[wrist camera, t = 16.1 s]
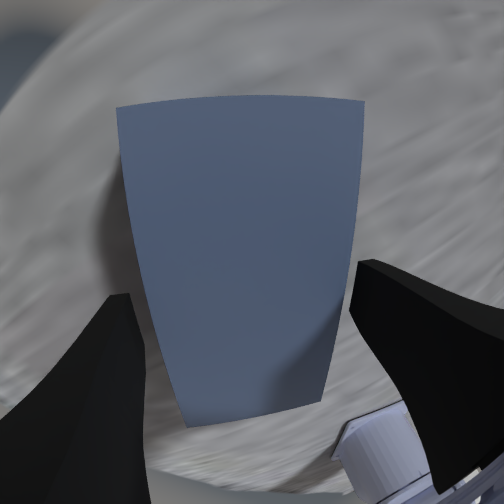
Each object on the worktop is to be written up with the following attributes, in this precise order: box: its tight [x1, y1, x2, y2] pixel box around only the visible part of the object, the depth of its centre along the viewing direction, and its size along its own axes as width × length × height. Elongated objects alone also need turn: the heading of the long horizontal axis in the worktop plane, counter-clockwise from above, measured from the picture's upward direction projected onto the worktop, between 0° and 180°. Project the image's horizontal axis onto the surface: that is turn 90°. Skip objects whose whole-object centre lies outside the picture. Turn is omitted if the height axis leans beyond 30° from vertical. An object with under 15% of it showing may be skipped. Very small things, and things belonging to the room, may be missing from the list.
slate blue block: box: [116, 95, 365, 428], centre depth 11 cm, size 12×6×5 cm, turn 1°
